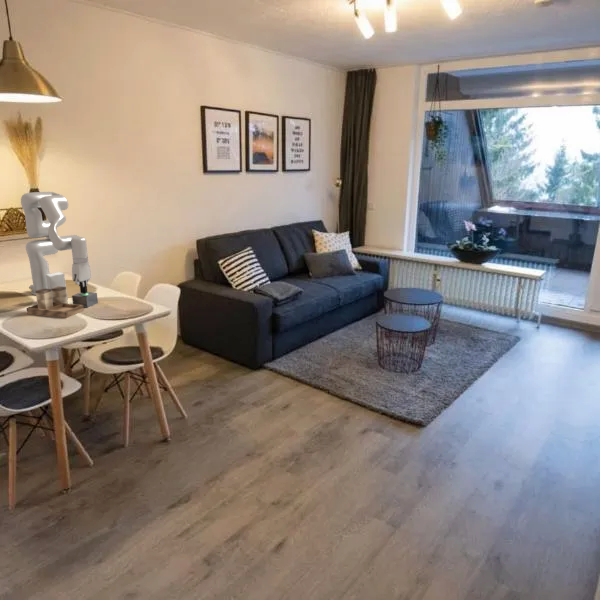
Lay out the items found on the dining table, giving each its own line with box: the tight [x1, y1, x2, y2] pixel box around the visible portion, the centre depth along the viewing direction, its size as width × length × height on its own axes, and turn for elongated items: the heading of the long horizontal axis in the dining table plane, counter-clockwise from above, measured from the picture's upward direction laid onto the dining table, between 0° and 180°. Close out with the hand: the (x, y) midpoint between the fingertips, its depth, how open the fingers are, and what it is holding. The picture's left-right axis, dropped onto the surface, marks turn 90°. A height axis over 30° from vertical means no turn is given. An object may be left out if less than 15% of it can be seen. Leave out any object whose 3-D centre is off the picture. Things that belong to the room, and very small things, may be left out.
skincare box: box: [46, 271, 69, 302], centre depth 272 cm, size 8×7×16 cm
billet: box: [51, 286, 69, 304], centre depth 264 cm, size 5×5×10 cm
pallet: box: [26, 302, 85, 319], centre depth 253 cm, size 24×13×3 cm, turn 76°
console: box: [71, 291, 99, 309], centre depth 266 cm, size 9×9×6 cm
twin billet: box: [35, 288, 53, 310], centre depth 253 cm, size 5×5×10 cm
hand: (84, 292), depth 265 cm, fingers closed
